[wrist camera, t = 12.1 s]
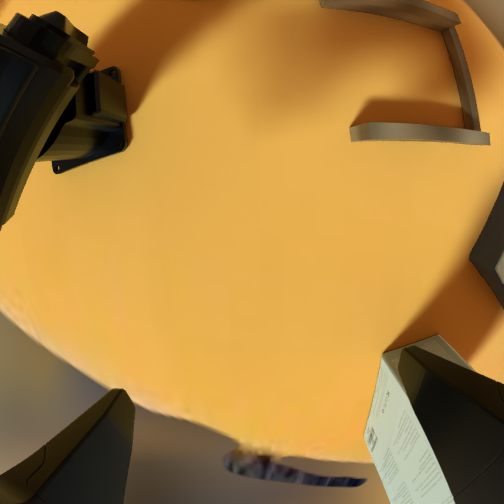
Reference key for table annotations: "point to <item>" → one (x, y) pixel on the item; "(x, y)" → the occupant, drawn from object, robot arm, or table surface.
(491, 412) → the robot arm
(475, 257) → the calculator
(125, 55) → the table surface
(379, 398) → the hard drive box
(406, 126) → the wooden rack
